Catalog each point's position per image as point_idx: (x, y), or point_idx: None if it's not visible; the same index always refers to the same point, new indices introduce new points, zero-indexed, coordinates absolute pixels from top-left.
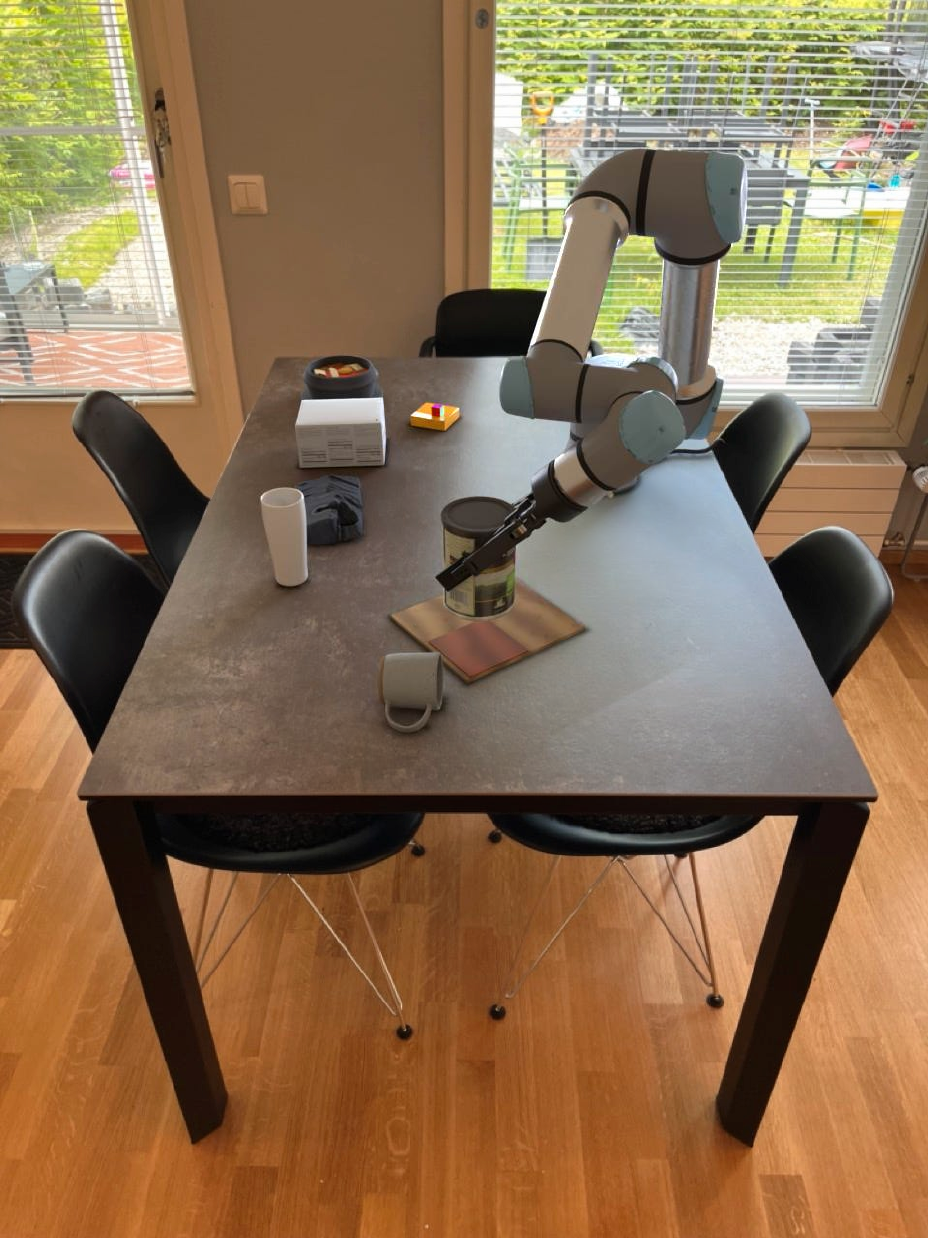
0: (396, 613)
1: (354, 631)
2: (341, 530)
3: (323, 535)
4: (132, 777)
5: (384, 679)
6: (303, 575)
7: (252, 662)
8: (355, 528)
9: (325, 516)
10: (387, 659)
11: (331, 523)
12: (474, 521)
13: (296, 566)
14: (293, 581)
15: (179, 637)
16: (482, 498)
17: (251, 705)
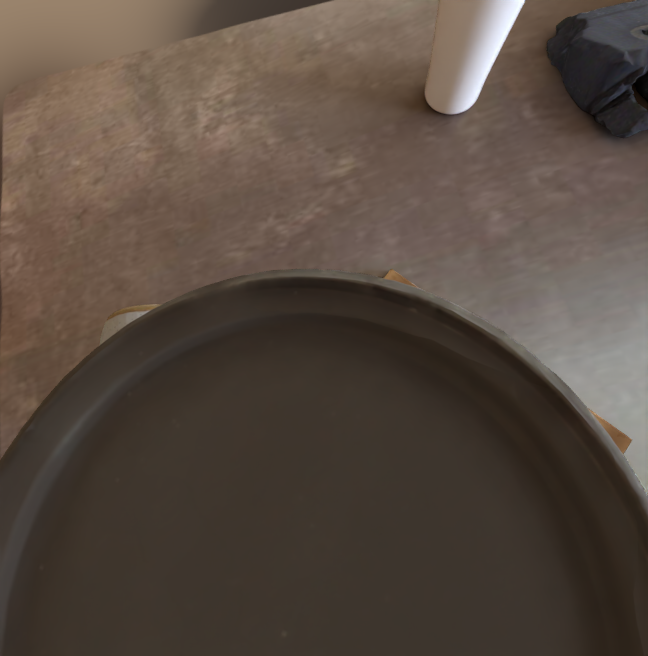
0: (399, 276)
1: (339, 230)
2: (618, 99)
3: (584, 80)
4: (19, 113)
5: (103, 327)
6: (447, 102)
7: (235, 134)
8: (638, 117)
9: (629, 47)
10: (128, 317)
11: (612, 67)
12: (147, 602)
13: (441, 75)
14: (430, 97)
15: (269, 37)
16: (633, 582)
17: (148, 170)
